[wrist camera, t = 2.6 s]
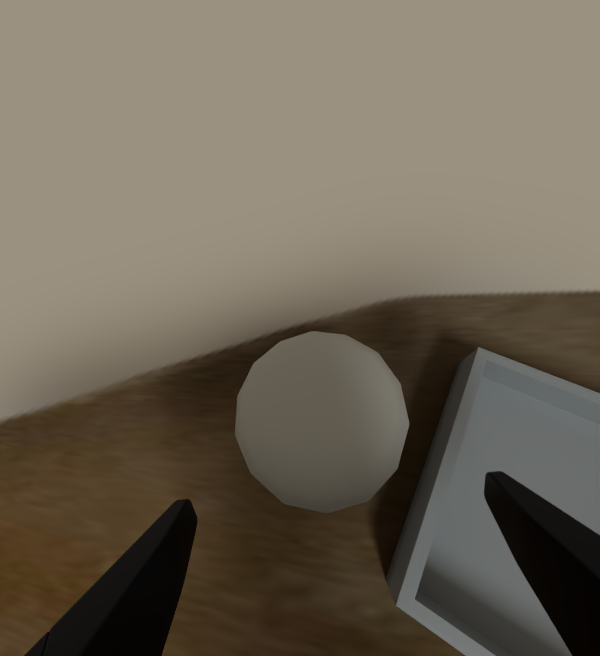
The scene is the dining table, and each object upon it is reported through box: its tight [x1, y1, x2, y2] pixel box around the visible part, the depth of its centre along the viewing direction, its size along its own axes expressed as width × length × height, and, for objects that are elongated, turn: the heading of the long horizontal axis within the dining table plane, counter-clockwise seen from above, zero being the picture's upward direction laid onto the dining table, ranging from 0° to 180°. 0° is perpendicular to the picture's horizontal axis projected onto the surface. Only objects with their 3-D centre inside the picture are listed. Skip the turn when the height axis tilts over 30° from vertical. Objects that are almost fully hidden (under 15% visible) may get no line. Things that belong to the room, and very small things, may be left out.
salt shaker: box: [235, 331, 409, 514], centre depth 12 cm, size 6×6×13 cm
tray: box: [386, 347, 600, 656], centre depth 13 cm, size 13×13×3 cm
